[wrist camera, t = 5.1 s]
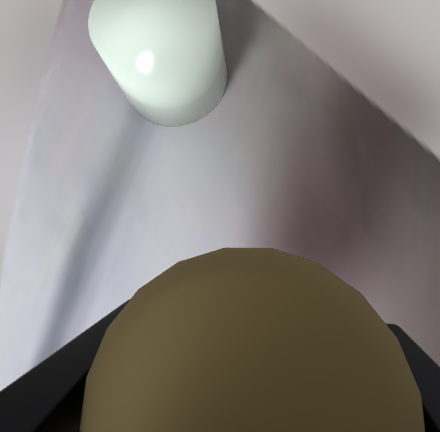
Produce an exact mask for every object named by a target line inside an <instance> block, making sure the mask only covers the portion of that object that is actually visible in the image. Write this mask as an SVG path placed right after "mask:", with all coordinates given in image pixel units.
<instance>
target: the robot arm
mask: <svg viewBox="0 0 440 432" xmlns="http://www.w3.org/2000/svg"><path fill="white" fill-rule="evenodd" d="M129 301H130V300H128V301H126V302H125V303H123V304H122V305H121V306H119V307H118V308H116V309H115V310H114V311H112V312H111V313H109V314H108V315H107V316H105V317H104V318H102V319H101V320H100V321H98V322H97V323H95V324H94V325H93V326H91V327H90V328H88V329H87V330H85V331H84V332H83V333H81V334H80V335H78V336H77V337H76V338H74V339H73V340H71V341H70V342H69V343H67V344H66V345H64V346H63V347H62V348H60V349H59V350H57V351H56V352H55V353H53V354H52V355H50V356H49V357H48V358H46V359H45V360H43V361H42V362H41V363H39V364H38V365H36V366H35V367H34V368H32V369H31V370H29V371H28V372H27V373H25V374H24V375H22V376H21V377H20V378H18V379H17V380H15V381H14V382H13V383H11V384H10V385H8V386H7V387H6V388H4V389H3V390H1V391H0V432H80V424H81V416H82V408H83V400H84V392H85V385H86V377H87V375H88V373H89V370H90V368H91V366H92V363H93V361H94V358H95V356H96V354H97V351H98V349H99V346H100V344H101V342H102V339H103V337H104V335H105V332H106V330H107V328H108V327H109V325H110V324H111V323H112V322H113V320H114V319H115V318H116V317H117V315H118V314H119V313H120V312H121V311H122V309H123V308H124V307H125V306H126V304H127V303H128V302H129ZM385 324H386V323H385ZM386 325H387V326H388V327H389V329H390V330H391V331H392V332H393V334H394V335H395V336H396V337H397V339H398V341H399V343H400V346H401V348H402V351H403V353H404V355H405V358H406V360H407V362H408V365H409V367H410V370H411V372H412V374H413V377H414V379H415V382H416V384H417V386H418V389H419V391H420V394H421V399H422V408H423V417H424V426H425V432H440V367H439V366H438V365H437V364H436V363H435V362H434V361H433V360H432V359H431V358H430V357H429V356H428V355H427V354H426V353H425V352H424V351H423V350H422V349H421V348H420V347H419V346H418V345H417V344H416V343H415V342H414V341H413V340H412V339H411V338H410V337H409V336H408V335H407V334H406V333H405V332H404V331H403V330H402V329H401V328H400V327H399V326H397V325H395V324H386Z"/></svg>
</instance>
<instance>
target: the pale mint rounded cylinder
mask: <svg viewBox="0 0 440 432" xmlns="http://www.w3.org/2000/svg"><path fill="white" fill-rule="evenodd" d="M88 27H89V34H90V37H91V40H92V42H93V44H94V46H95V48H96V49H97V51H98V53H99V54H100V56H101V57H102V59H103V61H104V62H105V64H106V65H107V67H108V69H109V70H110V72H111V73H112V75H113V77H114V78H115V80H116V81H117V83H118V85H119V86H120V88H121V89H122V91H123V93H124V94H125V96H126V97H127V99H128V101H129V102H130V104H131V105H132V107H133V108H134V110H135V111H136V112H137V113H138V114H139V115H140V116H141V117H142V118H144V119H145V120H147V121H149V122H151V123H153V124H157V125H160V126H167V127H175V126H183V125H187V124H190V123H193V122H195V121H197V120H199V119H201V118H203V117H204V116H206V115H207V114H208V113H210V112H211V111H212V110H213V109H214V108H215V107H216V106H217V104H218V103H219V101H220V100H221V98H222V96H223V94H224V92H225V89H226V85H227V69H226V62H225V56H224V50H223V44H222V38H221V32H220V26H219V19H218V13H217V7H216V1H215V0H95V1H94V3H93V5H92V7H91V10H90V14H89V22H88Z"/></svg>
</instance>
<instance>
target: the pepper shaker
mask: <svg viewBox="0 0 440 432" xmlns="http://www.w3.org/2000/svg"><path fill="white" fill-rule="evenodd" d="M80 432H425V426H424V417H423V408H422V399H421V394H420V391H419V389H418V386H417V384H416V382H415V379H414V377H413V374H412V372H411V370H410V367H409V365H408V362H407V360H406V358H405V355H404V353H403V351H402V348H401V346H400V343H399V341H398V339H397V337H396V336H395V335H394V334H393V332H392V331H391V330H390V329H389V327H388V326H387V325H386V324H385V322H384V321H383V320H382V319H381V317H380V316H379V315H378V314H377V312H376V311H375V310H374V309H373V307H372V306H371V305H370V304H369V303H368V301H367V300H366V299H365V298H364V296H363V295H362V294H361V293H360V292H359V291H357V290H356V289H354V288H353V287H351V286H350V285H348V284H347V283H346V282H344V281H343V280H341V279H340V278H338V277H337V276H336V275H334V274H333V273H331V272H330V271H328V270H327V269H325V268H324V267H323V266H321V265H320V264H318V263H316V262H313V261H310V260H307V259H304V258H301V257H298V256H294V255H291V254H288V253H285V252H282V251H279V250H276V249H273V248H222V249H219V250H216V251H212V252H209V253H206V254H203V255H199V256H196V257H193V258H190V259H187V260H183V261H180V262H178V263H176V264H175V265H173V266H172V267H170V268H169V269H167V270H166V271H164V272H163V273H162V274H160V275H159V276H157V277H156V278H154V279H153V280H151V281H150V282H148V283H147V284H146V285H144V286H143V287H141V288H140V289H138V291H137V292H136V293H135V294H134V296H133V297H132V298H131V299H130V301H129V302H128V303H127V304H126V306H125V307H124V308H123V309H122V311H121V312H120V313H119V314H118V315H117V317H116V318H115V319H114V320H113V322H112V323H111V324H110V325H109V327H108V328H107V330H106V332H105V335H104V337H103V339H102V342H101V344H100V346H99V349H98V351H97V354H96V356H95V358H94V361H93V363H92V366H91V368H90V370H89V373H88V375H87V377H86V385H85V392H84V400H83V408H82V416H81V424H80Z"/></svg>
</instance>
